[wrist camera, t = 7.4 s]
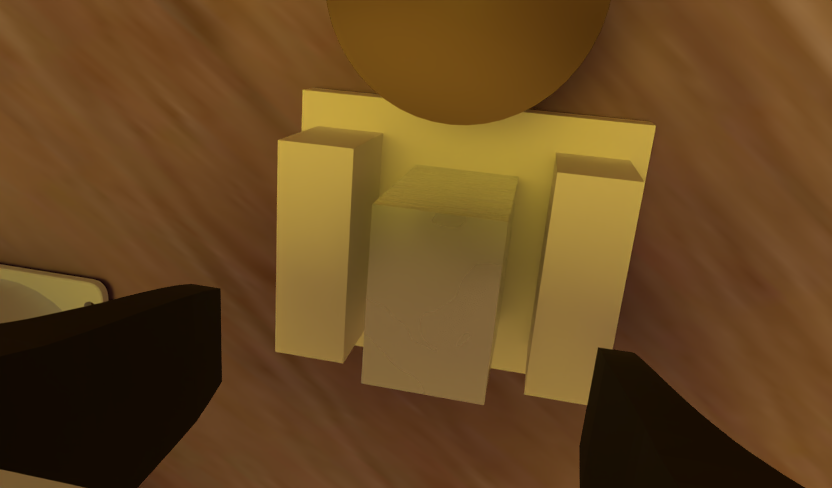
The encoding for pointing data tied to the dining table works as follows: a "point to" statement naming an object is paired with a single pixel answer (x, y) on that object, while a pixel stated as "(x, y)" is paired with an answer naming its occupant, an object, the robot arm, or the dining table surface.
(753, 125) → the dining table surface
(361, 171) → the notch board
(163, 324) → the robot arm
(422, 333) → the tab
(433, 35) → the bobbin
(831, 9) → the dining table surface
